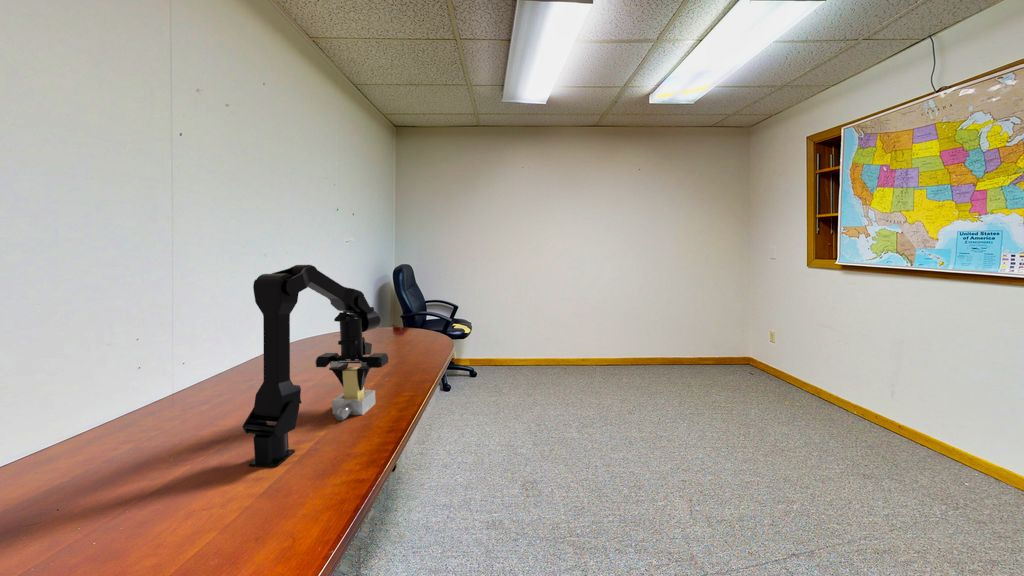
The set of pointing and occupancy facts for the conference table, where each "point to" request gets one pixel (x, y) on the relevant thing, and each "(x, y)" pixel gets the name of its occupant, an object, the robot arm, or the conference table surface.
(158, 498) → the conference table surface
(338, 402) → the bracket head
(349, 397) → the butter yellow block
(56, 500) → the conference table surface
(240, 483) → the conference table surface
